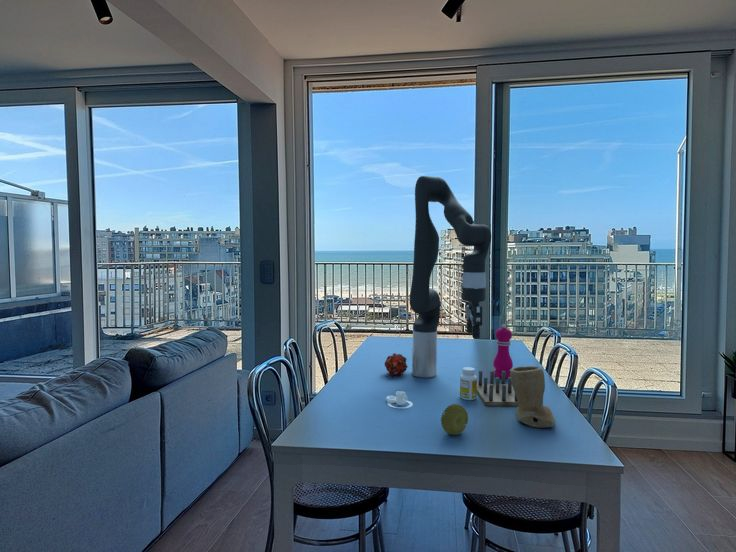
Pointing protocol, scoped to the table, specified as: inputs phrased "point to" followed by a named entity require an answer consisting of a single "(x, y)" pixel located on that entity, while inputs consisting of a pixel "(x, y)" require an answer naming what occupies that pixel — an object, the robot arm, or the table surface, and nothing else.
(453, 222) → the robot arm
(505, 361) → the pepper mill
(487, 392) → the drying rack
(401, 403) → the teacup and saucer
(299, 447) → the table surface
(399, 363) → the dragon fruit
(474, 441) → the table surface
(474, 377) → the supplement bottle
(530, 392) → the tan boot vase
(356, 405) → the table surface
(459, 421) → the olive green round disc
